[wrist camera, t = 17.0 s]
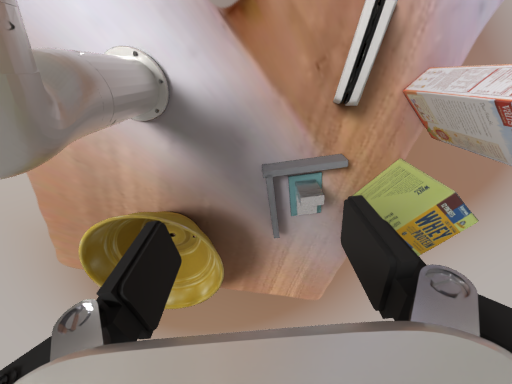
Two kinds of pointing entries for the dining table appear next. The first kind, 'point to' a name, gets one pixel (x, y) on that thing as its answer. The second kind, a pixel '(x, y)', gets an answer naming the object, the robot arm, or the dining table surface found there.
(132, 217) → the planter bowl
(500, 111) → the cracker box
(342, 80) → the white black slab
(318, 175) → the mat
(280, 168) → the corner walls
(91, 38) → the dining table surface
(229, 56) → the dining table surface
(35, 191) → the dining table surface
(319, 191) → the grey l-shaped block
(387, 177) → the protein box
